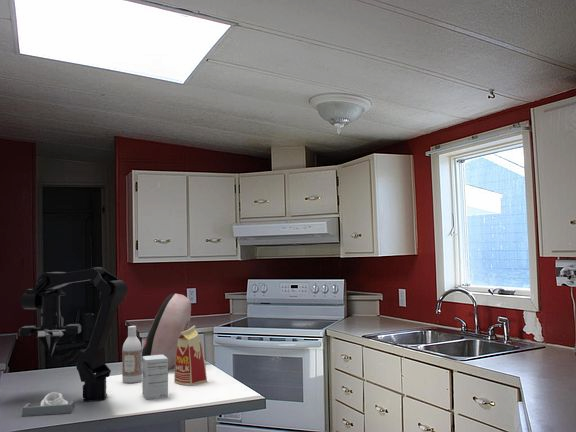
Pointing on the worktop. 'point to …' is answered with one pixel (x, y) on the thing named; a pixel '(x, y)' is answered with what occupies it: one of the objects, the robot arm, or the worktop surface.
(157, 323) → the beige tall rounded piece
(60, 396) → the whipped cream
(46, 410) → the tray
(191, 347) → the milk carton
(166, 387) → the supplement box
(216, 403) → the worktop surface
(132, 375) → the bath foam
